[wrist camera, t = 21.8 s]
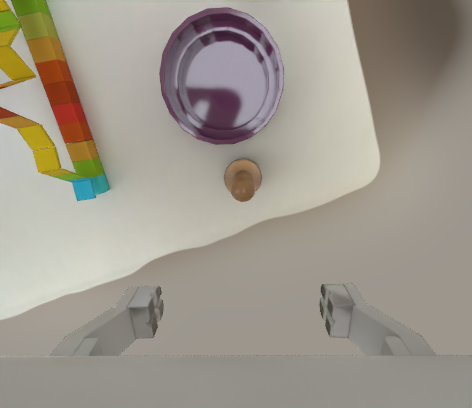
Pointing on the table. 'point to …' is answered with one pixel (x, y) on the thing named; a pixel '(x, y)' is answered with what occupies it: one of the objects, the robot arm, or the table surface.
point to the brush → (243, 179)
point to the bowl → (221, 76)
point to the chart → (59, 94)
